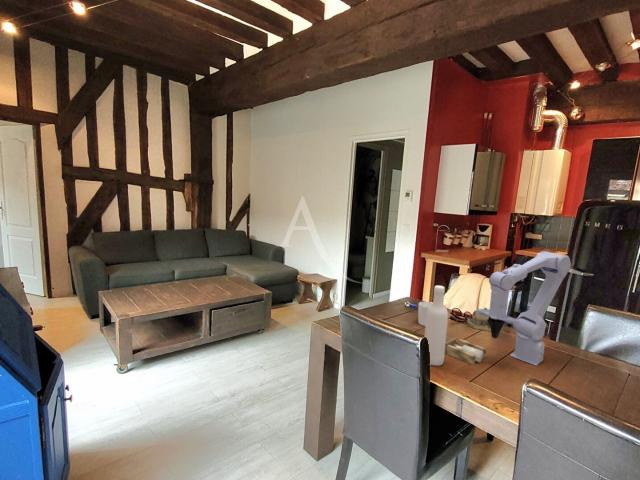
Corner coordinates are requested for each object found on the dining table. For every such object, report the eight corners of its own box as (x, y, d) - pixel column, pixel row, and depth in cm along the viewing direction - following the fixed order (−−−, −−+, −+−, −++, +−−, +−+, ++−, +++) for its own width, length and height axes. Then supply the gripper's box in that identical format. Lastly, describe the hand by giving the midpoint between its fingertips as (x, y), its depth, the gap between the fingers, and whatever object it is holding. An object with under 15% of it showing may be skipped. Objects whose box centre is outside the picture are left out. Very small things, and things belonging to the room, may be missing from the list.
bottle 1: (445, 367, 124) (452, 290, 120) (423, 364, 126) (430, 288, 121) (441, 357, 132) (448, 284, 127) (421, 354, 134) (427, 282, 129)
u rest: (485, 356, 133) (486, 348, 133) (472, 364, 127) (473, 356, 126) (452, 343, 144) (453, 336, 144) (439, 350, 137) (440, 342, 137)
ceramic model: (494, 324, 168) (496, 305, 166) (502, 333, 157) (505, 313, 155) (465, 321, 170) (467, 302, 169) (471, 330, 159) (473, 310, 158)
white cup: (413, 321, 167) (415, 302, 166) (425, 319, 171) (427, 301, 169) (424, 327, 160) (426, 308, 159) (436, 325, 163) (438, 306, 162)
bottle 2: (482, 348, 128) (455, 339, 136) (478, 359, 126) (451, 349, 134) (484, 354, 131) (457, 345, 138) (480, 364, 129) (453, 354, 136)
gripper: (474, 300, 129) (471, 333, 131) (515, 311, 118) (511, 347, 120) (482, 297, 133) (479, 328, 135) (522, 307, 122) (518, 341, 124)
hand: (494, 337), depth 128 cm, fingers closed
